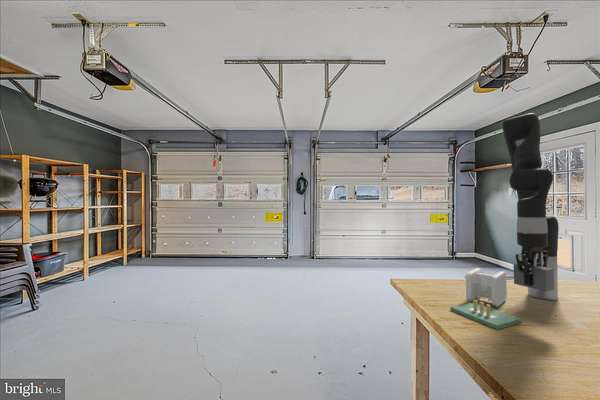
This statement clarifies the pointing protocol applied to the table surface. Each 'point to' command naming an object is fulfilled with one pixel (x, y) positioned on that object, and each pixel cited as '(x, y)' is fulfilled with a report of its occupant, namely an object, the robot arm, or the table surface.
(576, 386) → the table surface
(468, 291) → the white socket shroud
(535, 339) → the table surface
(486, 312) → the board
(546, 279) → the block
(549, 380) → the table surface
